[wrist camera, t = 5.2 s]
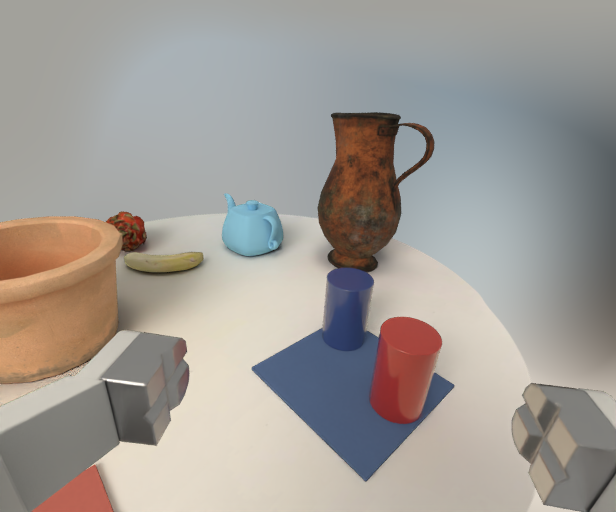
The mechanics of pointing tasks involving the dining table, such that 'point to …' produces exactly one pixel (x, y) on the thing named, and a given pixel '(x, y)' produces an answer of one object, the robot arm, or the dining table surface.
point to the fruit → (163, 261)
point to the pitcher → (364, 188)
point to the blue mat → (341, 398)
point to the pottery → (55, 294)
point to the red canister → (403, 369)
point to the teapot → (251, 228)
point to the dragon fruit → (129, 230)
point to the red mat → (79, 495)
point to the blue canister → (346, 308)
